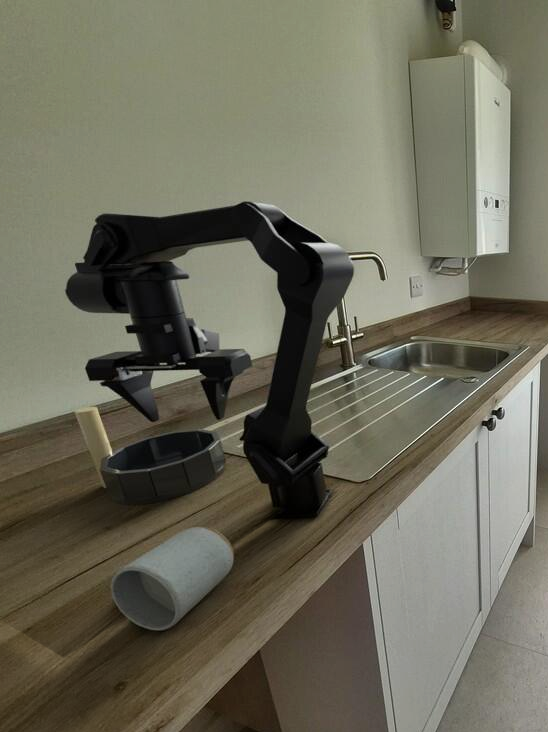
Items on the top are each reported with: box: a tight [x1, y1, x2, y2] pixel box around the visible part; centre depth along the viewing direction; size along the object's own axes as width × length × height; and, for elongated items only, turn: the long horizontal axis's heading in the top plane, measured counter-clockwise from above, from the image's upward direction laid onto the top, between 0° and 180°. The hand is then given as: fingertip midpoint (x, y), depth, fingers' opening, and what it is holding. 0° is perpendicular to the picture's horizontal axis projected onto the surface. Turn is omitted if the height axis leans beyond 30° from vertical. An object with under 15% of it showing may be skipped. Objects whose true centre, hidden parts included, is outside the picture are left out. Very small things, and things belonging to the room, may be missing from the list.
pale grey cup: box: [110, 525, 235, 632], centre depth 44 cm, size 11×8×8 cm
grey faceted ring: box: [74, 406, 227, 506], centre depth 65 cm, size 17×15×13 cm
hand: (188, 419), depth 60 cm, fingers open, 9 cm apart
